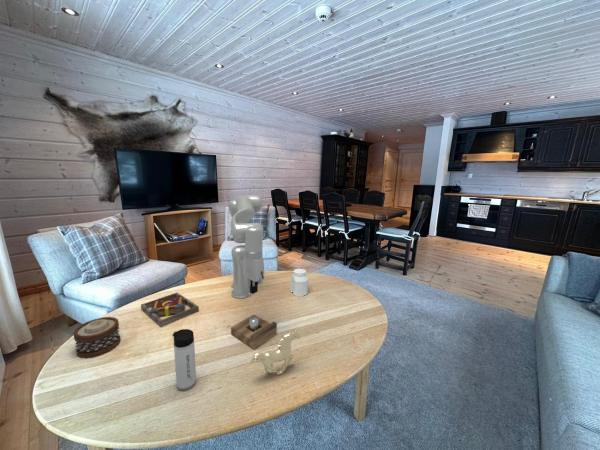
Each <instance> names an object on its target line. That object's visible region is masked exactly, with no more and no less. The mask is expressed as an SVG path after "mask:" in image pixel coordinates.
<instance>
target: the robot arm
mask: <svg viewBox="0 0 600 450" xmlns="http://www.w3.org/2000/svg"><path fill="white" fill-rule="evenodd" d="M263 205H264V204H263V199H262V196H261V195H259V194H239V195H238V196H236V198H235V199H230V201H228V205H227V207H228V211H229V214H230V216H231V220H230V231H231V236H232V238H233V241H234V242H235V244H240V245H236V246H234V247H232V248H231V253H230V254H231V259H232V272H233V273H232V275H233V276H232V278H233V284H232V285H231V289H232V291H231V293H230V296H231V297H232V298H234V299H246V298H249V297H250V296H251V295H255V294H257V293H258V291H259V288H258V286H259V285H262V284H263V283H264V281H263V280H264V279H265V263H264V258H263V243H264V242H263V241H264V239H263V238H264V237H263V236H264V227H263V225H262V224H261V223H260V222H249V221H251V220H253V218H254V217H255V214H258V213H259V212H260V211H261V210H262V209H263ZM242 244H243V245H242Z"/></svg>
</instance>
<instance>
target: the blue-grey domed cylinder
mask: <svg viewBox="0 0 600 450" xmlns="http://www.w3.org/2000/svg"><path fill="white" fill-rule="evenodd" d="M250 330H251V331H252V332H254V331H256V330H258V318H257V317H251V318H250Z"/></svg>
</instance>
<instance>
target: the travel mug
mask: <svg viewBox="0 0 600 450" xmlns="http://www.w3.org/2000/svg"><path fill="white" fill-rule="evenodd" d="M171 335H172V337H173V347H174V349H173V352H174V365H175V366H174V367H175V368H174V369H175V381H176V388H177V390H178V391H181V392H182V391H183V392H184V391H189V390H190V389H191V388H193V387H194V386H195V385H196V383H197V371H196V368H197V367H196V352H195V351H196V349H195V335H194V331H193V330H192V329H189V328H185V329H184V328H181V329H180V330H176V331H174V332H173V333H172V334H171Z"/></svg>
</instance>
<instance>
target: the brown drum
mask: <svg viewBox="0 0 600 450" xmlns="http://www.w3.org/2000/svg"><path fill="white" fill-rule="evenodd" d="M119 332H120V323H119V319H118V318H117V317H114V316H105V317H98V318H94V319H92V320H89V321H86V322H84V323H82V324H80V325H79V326H77V327H76V328H75V329H74V330H73V340H74V342H75V343H74V345H75V350H76V352H75V353H76V356H77V357H78V358H80V359H94V358H96V357H97V358H98V357H100V356H104V355H106V354H107V353H110V352H111V351H113V350H115V349H116V348H117V347H118V346H119V345H120V344H121V342H122V341H121V334H120V333H119Z"/></svg>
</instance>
